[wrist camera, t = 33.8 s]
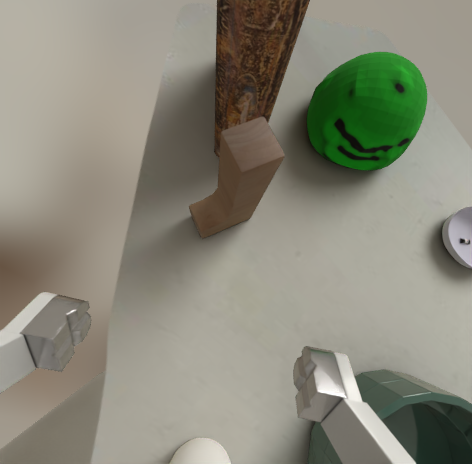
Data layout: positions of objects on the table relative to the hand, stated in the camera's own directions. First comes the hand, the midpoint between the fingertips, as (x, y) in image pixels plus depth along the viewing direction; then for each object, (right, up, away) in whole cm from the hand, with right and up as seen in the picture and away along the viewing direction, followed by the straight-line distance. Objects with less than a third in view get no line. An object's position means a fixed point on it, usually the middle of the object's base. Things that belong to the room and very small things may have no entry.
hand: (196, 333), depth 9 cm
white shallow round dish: (+31, +3, +24) cm, 39 cm away
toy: (+17, +18, +26) cm, 36 cm away
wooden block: (0, +6, +21) cm, 22 cm away
